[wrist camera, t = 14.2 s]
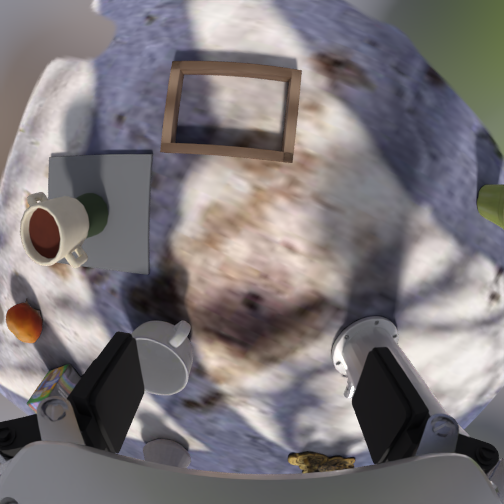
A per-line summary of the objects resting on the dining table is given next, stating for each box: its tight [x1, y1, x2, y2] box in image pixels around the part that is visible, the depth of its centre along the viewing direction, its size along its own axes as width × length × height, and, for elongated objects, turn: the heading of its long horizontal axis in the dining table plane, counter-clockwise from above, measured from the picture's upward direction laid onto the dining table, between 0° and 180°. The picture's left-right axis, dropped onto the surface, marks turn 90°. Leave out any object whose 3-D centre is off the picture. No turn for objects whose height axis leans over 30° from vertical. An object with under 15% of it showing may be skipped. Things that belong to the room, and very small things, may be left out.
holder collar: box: [160, 61, 302, 163], centre depth 33 cm, size 12×16×2 cm
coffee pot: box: [143, 439, 191, 468], centre depth 45 cm, size 21×12×15 cm, turn 137°
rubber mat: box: [48, 154, 153, 275], centre depth 37 cm, size 17×18×1 cm
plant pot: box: [477, 185, 504, 229], centre depth 34 cm, size 9×9×9 cm
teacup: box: [131, 320, 193, 395], centre depth 40 cm, size 14×11×8 cm
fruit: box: [6, 299, 42, 343], centre depth 40 cm, size 8×8×8 cm
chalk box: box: [27, 364, 81, 414], centre depth 40 cm, size 9×9×15 cm
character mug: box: [20, 192, 109, 268], centre depth 30 cm, size 11×7×13 cm, turn 36°
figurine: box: [288, 451, 355, 473], centre depth 48 cm, size 13×25×20 cm, turn 49°
